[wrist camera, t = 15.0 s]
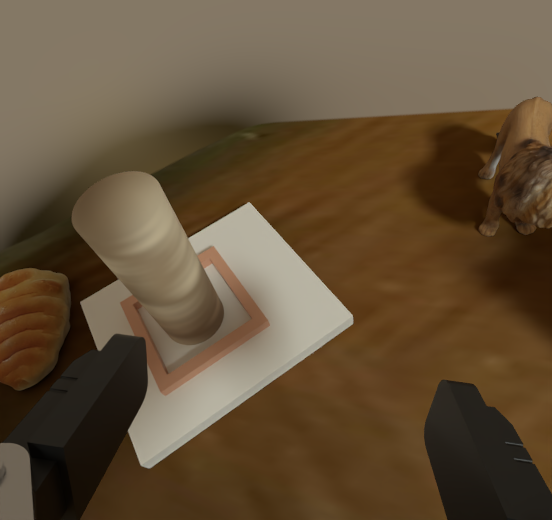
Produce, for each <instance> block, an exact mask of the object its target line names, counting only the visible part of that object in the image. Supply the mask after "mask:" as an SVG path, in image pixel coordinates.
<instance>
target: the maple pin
mask: <svg viewBox="0 0 552 520" xmlns="http://www.w3.org/2000/svg"><path fill="white" fill-rule="evenodd" d="M72 224H73V226H74V228H75V230H76V231H77V232H78V233H79V234H80V236H81V237H82V238H83V239H84V240H85V241H86V242H87V244H88V245H89V246H90V247H91V248H92V249H93V250H94V251H95V253H96V254H97V255H98V256H99V257H100V258H101V259H102V261H103V262H104V263H105V264H106V265H107V266H108V267H109V269H110V270H111V271H112V272H113V273H114V274H115V275H116V276H117V278H118V279H119V280H120V281H121V282H122V283H123V284H124V286H125V287H126V288H127V289H128V290H129V291H130V292H131V293H132V295H133V296H134V297H135V298H136V299H137V300H138V301H139V303H140V304H141V305H142V306H143V307H144V308H145V309H146V310H147V312H148V313H149V314H150V315H151V316H152V317H153V318H154V320H155V321H156V322H157V323H158V324H159V325H160V326H161V327H162V329H163V330H164V331H165V332H166V333H167V334H168V335H169V337H170V338H171V339H172V340H174V341H175V342H177V343H179V344H183V345H196V344H199V343H202V342H204V341H206V340H208V339H209V338H211V337H212V336H213V335H214V334H215V333H216V332H217V330H218V329H219V328H220V326H221V324H222V321H223V317H224V308H223V304H222V302H221V300H220V298H219V297H218V295H217V293H216V291H215V289H214V287H213V285H212V283H211V281H210V279H209V277H208V276H207V274H206V272H205V270H204V268H203V266H202V264H201V262H200V260H199V258H198V257H197V255H196V253H195V251H194V249H193V247H192V245H191V243H190V241H189V239H188V237H187V236H186V234H185V232H184V230H183V228H182V226H181V224H180V222H179V220H178V218H177V216H176V215H175V213H174V211H173V209H172V207H171V205H170V203H169V201H168V199H167V197H166V196H165V194H164V192H163V190H162V188H161V186H160V184H159V182H158V181H157V180H156V179H155V178H154V177H153V176H151V175H150V174H147V173H144V172H139V171H127V172H121V173H117V174H114V175H110V176H108V177H106V178H104V179H102V180H100V181H98V182H96V183H95V184H93V185H92V186H91V187H89V188H88V189H87V190H86V191H85V192H84V193H83V194H82V195H81V197H80V198H79V199H78V201H77V202H76V204H75V206H74V208H73V212H72Z"/></svg>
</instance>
